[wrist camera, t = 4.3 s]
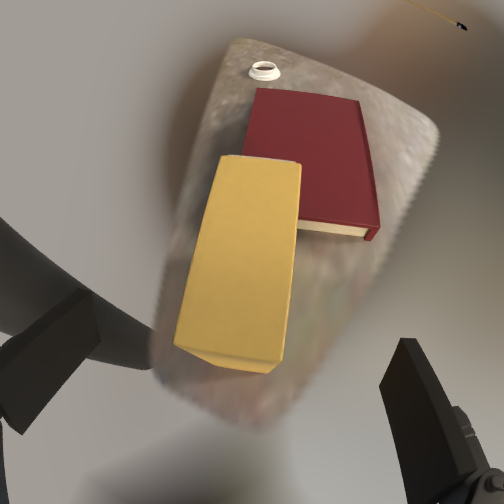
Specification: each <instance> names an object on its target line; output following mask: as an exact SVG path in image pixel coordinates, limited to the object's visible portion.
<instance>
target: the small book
mask: <svg viewBox="0 0 504 504" xmlns="http://www.w3.org/2000/svg"><path fill="white" fill-rule="evenodd" d="M301 169H302V166H301V164H299V163H296V162H295V161H287V160H279V159H270V158H261V157H251V156H240V155H228V156H221V157H220V161H219V164H218V167H217V171H216V174H215V177H214V181H213V184H212V187H211V191H210V194H209V198H208V201H207V205H206V208H205V212H204V216H203V219H202V223H201V227H200V230H199V234H198V238H197V242H196V246H195V249H194V253H193V257H192V261H191V265H190V269H189V273H188V277H187V282H186V286H185V290H184V294H183V299H182V303H181V307H180V312H179V316H178V321H177V325H176V330H175V335H174V339H173V344H174V345H175V346H177V347H179V348H181V349H183V350H185V351H187V352H189V353H191V354H193V355H195V356H197V357H199V358H201V359H203V360H205V361H207V362H209V363H211V364H214V365H216V366H221V367H227V368H232V369H239V370H245V371H252V372H259V373H269V372H270V371H271V370H272V369H274V368H275V367H276V366H277V365H278V364H280V363H281V362H282V359H283V352H284V344H285V336H286V328H287V320H288V312H289V303H290V294H291V285H292V276H293V266H294V256H295V245H296V234H297V223H298V211H299V198H300V184H301Z"/></svg>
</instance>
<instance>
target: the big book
mask: <svg viewBox="0 0 504 504" xmlns="http://www.w3.org/2000/svg"><path fill="white" fill-rule="evenodd" d="M241 156H251V157H261V158H270V159H279V160H287V161H295V162H296V163H299V164H301V166H302V169H301V184H300V198H299V211H298V223H297V228H299V229H307V230H315V231H323V232H331V233H339V234H346V235H354V236H361V237H364V240H366V241H371V240H372V239H373V237H374V236H375V234H376V233H377V231H378V230H379V229H380V217H379V208H378V200H377V193H376V186H375V179H374V172H373V166H372V160H371V155H370V149H369V144H368V139H367V134H366V129H365V125H364V120H363V116H362V111H361V107H360V103H359V101H355V100H350V99H345V98H339V97H334V96H328V95H321V94H314V93H307V92H299V91H290V90H280V89H268V88H257V90H256V94H255V98H254V103H253V107H252V111H251V115H250V119H249V124H248V128H247V132H246V136H245V141H244V145H243V150H242V154H241Z"/></svg>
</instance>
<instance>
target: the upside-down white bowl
mask: <svg viewBox="0 0 504 504" xmlns="http://www.w3.org/2000/svg"><path fill="white" fill-rule="evenodd" d="M258 67H270V68H274V69H272V70H267V71H262V70H257V69H255V68H258ZM248 74H249V76H250V77H252V78H253V79H257V80H263V81H268V80H274V79H277V78H278V77H279V76H280V72H279V70H278V69H277V67H276V65H275V64H274V63H272V62H267V61H262V62H257V63H255V64H253V66H252V68H251V69H250V71H249V73H248Z"/></svg>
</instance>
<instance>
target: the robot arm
mask: <svg viewBox="0 0 504 504" xmlns="http://www.w3.org/2000/svg"><path fill="white" fill-rule="evenodd" d="M100 341H101V340H100V336H99V331H98V326H97V321H96V315H95V310H94V304H93V298H92V292H91V291H89V290H85V289H81V288H78V289H77V290H75V291H74V292H73V293H71V294H70V295H69V296H67V297H66V298H65V299H63V300H62V301H61V302H60V303H58V304H57V305H56V306H54V307H53V308H52V309H51V310H49V311H48V312H47V313H46V314H44V315H43V316H42V317H41V318H39V319H38V320H37V321H36V322H34V323H33V324H32V325H31V326H30V327H28V328H27V329H26V330H25V331H24V332H22V333H20V334H18V335H16V336H14V337H12V338H10V339H9V340H7V341H6V342H5V343H4V344H3V345H2V347H0V419H1V418H2V417H3V418H4V419H5V421H6V422H7V423H8V425H9V426H10V427H11V428H13V429H14V430H15V431H17V432H18V433H19V434H21V435H23V433H24V432H25V431H26V430H27V429H28V427H29V426H30V425H31V423H32V422H33V421H34V420H35V418H36V417H37V416H38V414H39V413H40V412H41V411H42V410H43V408H44V407H45V406H46V405H47V403H48V402H49V401H50V400H51V399H52V397H53V396H54V395H55V394H56V393H57V391H58V390H59V389H60V388H61V386H62V385H63V384H64V383H65V382H66V381H67V379H68V378H69V377H70V376H71V375H72V373H73V372H74V371H75V370H76V369H77V368H78V367H79V365H80V364H81V363H82V362H83V361H84V360H85V358H86V357H87V356H88V355H89V354H90V353H91V352H92V350H93V349H94V348H95V347H96V346H97V345H98V344H99V343H100ZM379 388H380V392H381V395H382V399H383V402H384V405H385V409H386V413H387V416H388V420H389V424H390V427H391V431H392V435H393V439H394V443H395V447H396V451H397V455H398V460H399V464H400V468H401V473H402V478H403V482H404V487H405V492H406V497H407V503H408V504H437V503H438V502H439V504H504V472H502V471H501V470H499V469H496V468H490V466H489V464H488V462H487V459H486V457H485V454H484V452H483V450H482V447H481V445H480V443H479V440H478V439H477V436H475V431H474V429H473V428H472V427H471V423H470V421H469V419H468V417H467V415H466V414H465V413H464V412H463V411H462V410H461V408H460V407H459V406H453V407H452V406H451V404H450V402H449V400H448V398H447V396H446V394H445V392H444V390H443V388H442V386H441V384H440V382H439V380H438V378H437V376H436V374H435V372H434V370H433V368H432V367H431V365H430V363H429V361H428V359H427V357H426V356H425V354H424V352H423V350H422V348H421V347H420V345H419V343H418V341H417V339H415V338H400V341H399V343H398V345H397V348H396V350H395V353H394V355H393V357H392V359H391V362H390V364H389V366H388V368H387V370H386V372H385V375H384V377H383V379H382V381H381V383H380V385H379ZM2 436H3V433H2V423H1V421H0V504H9V499H8V493H7V486H6V478H5V469H4V457H3V438H2Z"/></svg>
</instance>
